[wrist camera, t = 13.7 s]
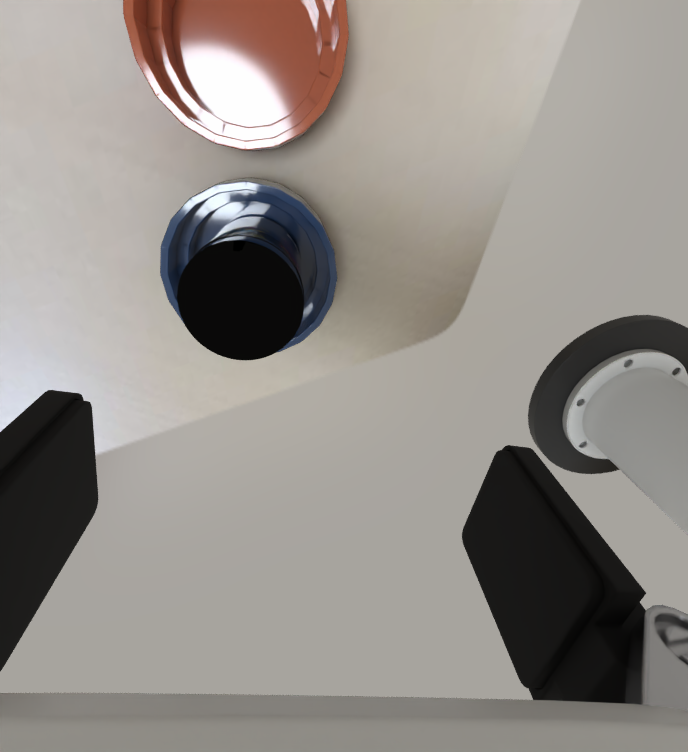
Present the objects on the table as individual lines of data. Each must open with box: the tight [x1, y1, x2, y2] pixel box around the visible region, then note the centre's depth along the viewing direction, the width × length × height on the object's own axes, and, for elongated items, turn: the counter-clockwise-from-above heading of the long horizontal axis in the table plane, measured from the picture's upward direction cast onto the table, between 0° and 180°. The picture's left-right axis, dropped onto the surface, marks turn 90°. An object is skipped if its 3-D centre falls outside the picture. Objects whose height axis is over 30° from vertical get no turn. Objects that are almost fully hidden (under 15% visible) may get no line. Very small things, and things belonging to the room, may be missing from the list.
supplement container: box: [177, 216, 304, 360], centre depth 28 cm, size 7×7×10 cm
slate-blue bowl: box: [160, 178, 337, 352], centre depth 30 cm, size 11×11×5 cm
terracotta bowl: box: [123, 0, 349, 151], centre depth 24 cm, size 11×11×5 cm
